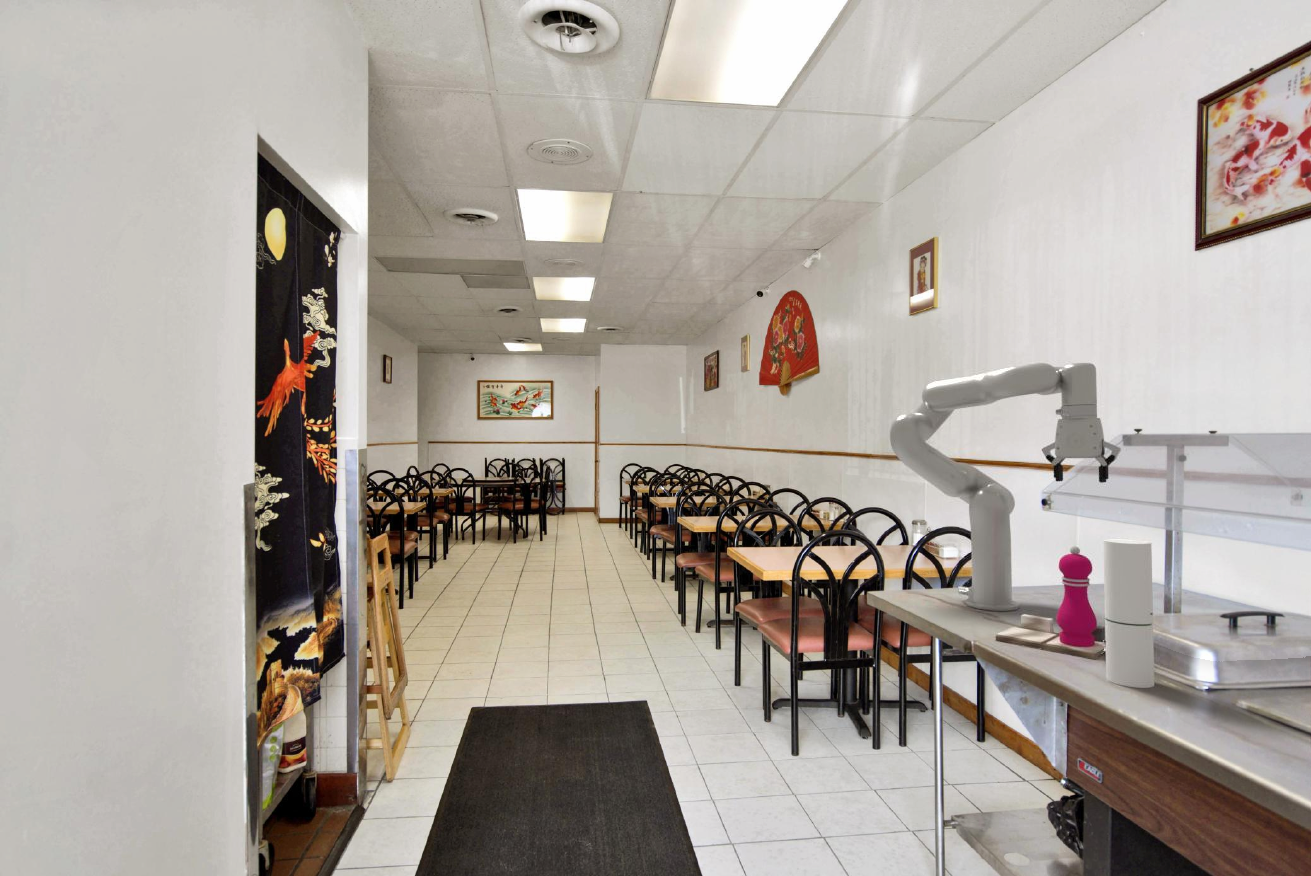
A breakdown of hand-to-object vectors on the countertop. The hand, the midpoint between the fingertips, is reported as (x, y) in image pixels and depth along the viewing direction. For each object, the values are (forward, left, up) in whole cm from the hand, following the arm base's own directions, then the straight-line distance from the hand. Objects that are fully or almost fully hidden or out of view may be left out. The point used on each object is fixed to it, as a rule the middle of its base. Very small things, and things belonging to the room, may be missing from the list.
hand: (1080, 481), depth 174 cm
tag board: (+4, -32, -33) cm, 46 cm away
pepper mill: (+9, -33, -32) cm, 47 cm away
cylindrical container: (+22, -48, -34) cm, 63 cm away
